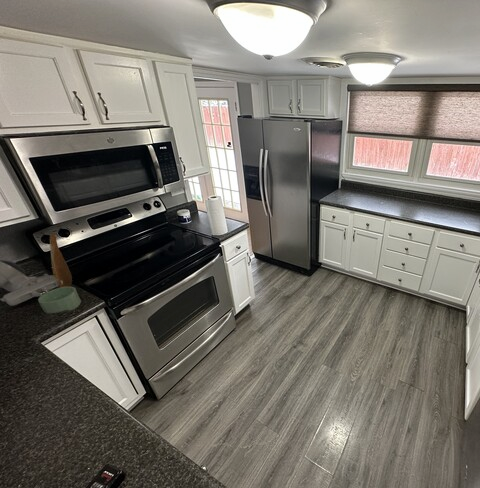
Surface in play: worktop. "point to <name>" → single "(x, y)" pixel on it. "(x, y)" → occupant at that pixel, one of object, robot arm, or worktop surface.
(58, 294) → the bowl
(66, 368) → the worktop surface
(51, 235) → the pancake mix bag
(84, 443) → the worktop surface
